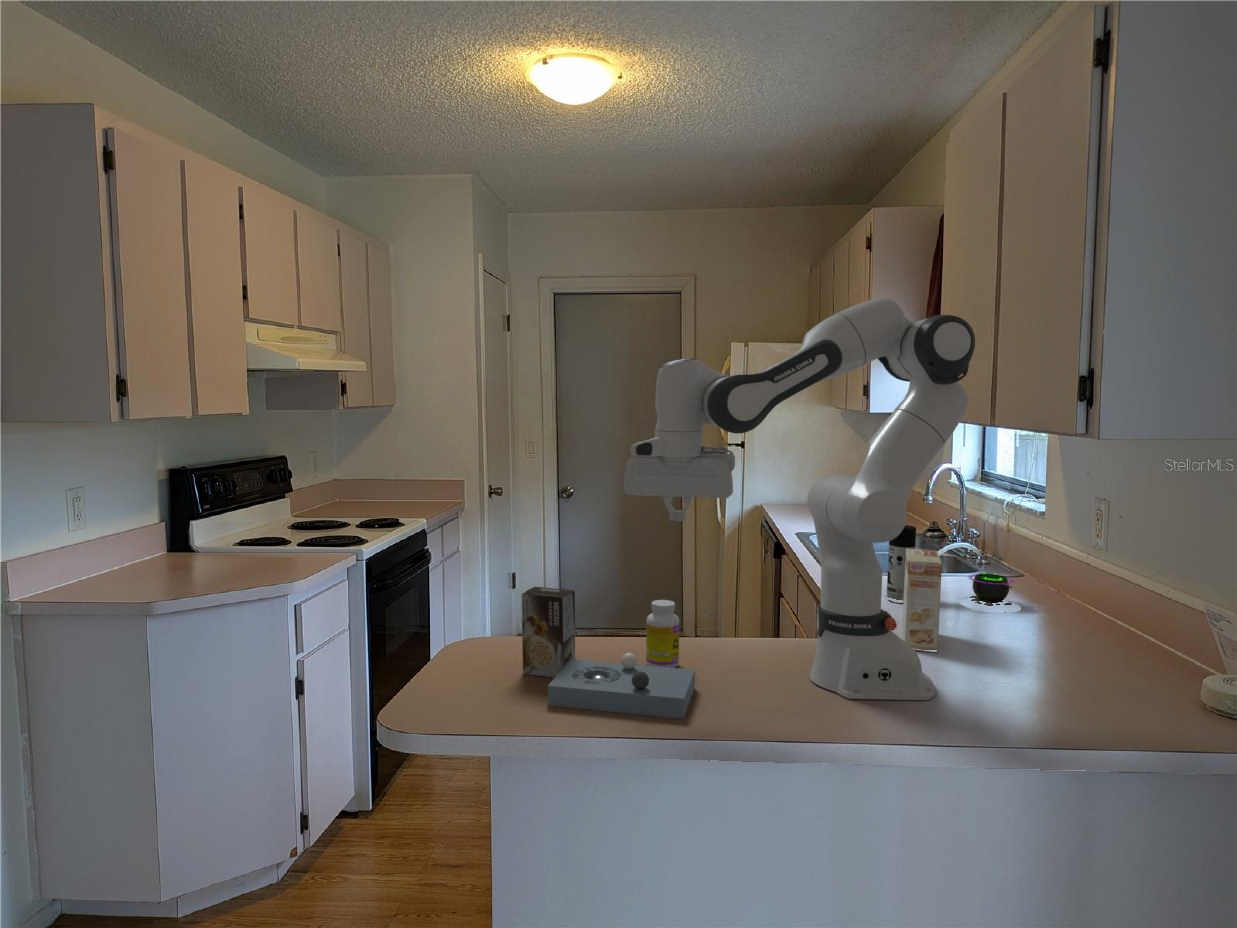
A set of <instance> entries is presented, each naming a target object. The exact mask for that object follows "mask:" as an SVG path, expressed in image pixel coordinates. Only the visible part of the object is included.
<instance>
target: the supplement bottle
mask: <svg viewBox="0 0 1237 928" xmlns="http://www.w3.org/2000/svg"><path fill="white" fill-rule="evenodd" d="M650 606H651V607H650V608H651V610H652V612H651V613H650V614H649V615H648V616H647V617H646V622H645V624H646V627H645V628H646V629H645V630H646V638H645V639H646V640H645V644H646V645H645V646H646V647H645V664H646V666H656V667H668V668H678V666H679V663H680V618H679V616H678V615H676V614H675V613H674V611H675V610H676V603H675V602H674V601H673V600H668V599H658V600H657V599H656V600H653V601H651V605H650Z"/></svg>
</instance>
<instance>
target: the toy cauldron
mask: <svg viewBox="0 0 1237 928" xmlns="http://www.w3.org/2000/svg"><path fill="white" fill-rule="evenodd" d="M987 563H988V564H989V563H991V564H992V562H984V565H985V566H987ZM991 564H990V567H992V566H993V565H991ZM1000 566H1001V564H998V567H1000ZM979 568H980V567H979V566H978V567H977V568H975V570H976V571H978V569H979ZM992 568H993V569H994V567H992ZM982 569H984V570H985V567H982ZM979 572H980V573H976V574H970V575H967V578H968V579H969V580H971V581H972V590H973V593H974V595H970V597H969V598H975V599H972V600H971V601H977V602H975V603H978V604H982V603H980V602H979V601H983V602H986V603H985V604H984V605H987V606H993V604H992V603H998V602H1003V601H1002V600H1006V598H1007V597H1008V595H1009V593H1010V589H1012V588H1013V587H1012V585H1011V584H1014V583H1016V580H1014V579H1013V578H1011V577H1006V576H1004V575H1002V574H997V573H996V572H994V573H986V572H985V571H982V570H981V571H979ZM981 572H982V573H981ZM1005 572H1006V574H1007V573H1009V571H1008V570H1006V569H1005ZM973 577H974V578H973ZM1008 580H1009V581H1008ZM1007 601H1008V602H1009V601H1010V600H1007ZM996 605H1000V604H996ZM1004 605H1012V604H1011V603H1006V604H1004Z"/></svg>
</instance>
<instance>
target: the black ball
mask: <svg viewBox="0 0 1237 928" xmlns="http://www.w3.org/2000/svg"><path fill="white" fill-rule="evenodd" d="M632 684H633V686H634V687H635V688H637V689H644V688H646V687H647V686H648V684H649V677H648V675H647V674H646V673H644V672H642V671H639V672H636V673H635V674H634V675H633V677H632Z"/></svg>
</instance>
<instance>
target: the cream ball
mask: <svg viewBox="0 0 1237 928" xmlns="http://www.w3.org/2000/svg"><path fill="white" fill-rule="evenodd" d="M620 663H621V664H622V666H623V667H624V668H625V669H633V668H634V667H635V666H636V665H638V664H637V663H638V659H637V657H636V655H635V654H634V653H632V652H625V653H624V654H622V656H621V657H620Z"/></svg>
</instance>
